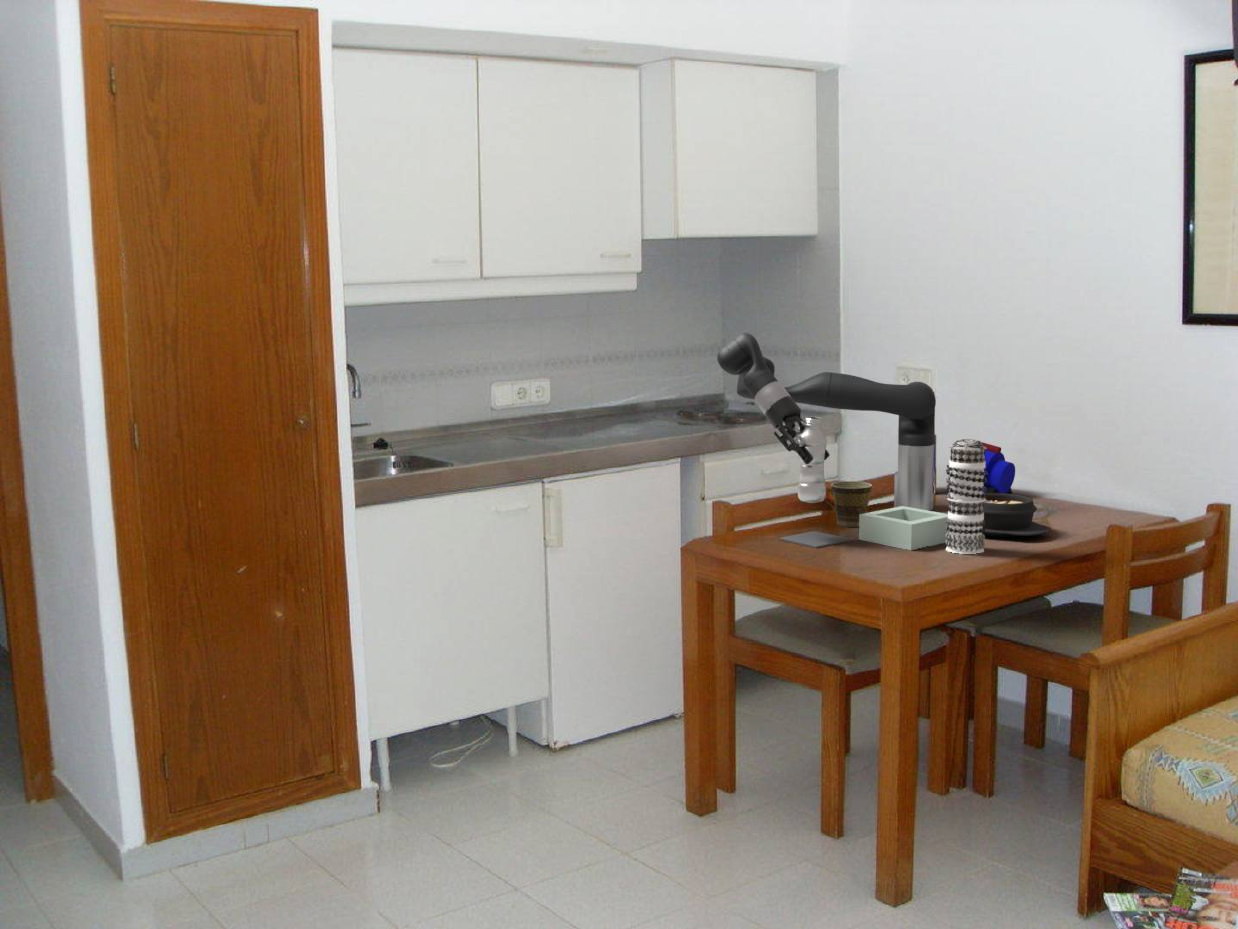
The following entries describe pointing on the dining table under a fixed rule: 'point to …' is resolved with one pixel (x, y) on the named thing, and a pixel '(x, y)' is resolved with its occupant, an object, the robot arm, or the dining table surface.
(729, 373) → the robot arm
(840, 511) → the ceramic cup
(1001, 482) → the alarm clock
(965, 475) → the black and white cylinder
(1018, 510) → the casserole
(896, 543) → the holder block
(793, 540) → the rubber mat
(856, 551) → the dining table surface
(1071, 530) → the dining table surface
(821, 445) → the plastic bottle
